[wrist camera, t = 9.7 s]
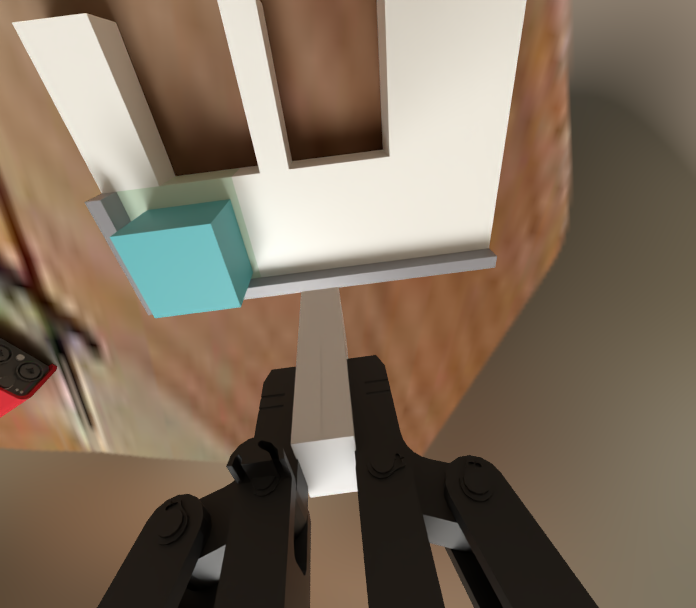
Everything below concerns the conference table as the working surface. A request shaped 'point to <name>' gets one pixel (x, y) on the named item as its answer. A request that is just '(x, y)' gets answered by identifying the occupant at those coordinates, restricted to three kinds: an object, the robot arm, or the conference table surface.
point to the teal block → (186, 258)
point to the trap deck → (318, 173)
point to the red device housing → (19, 376)
